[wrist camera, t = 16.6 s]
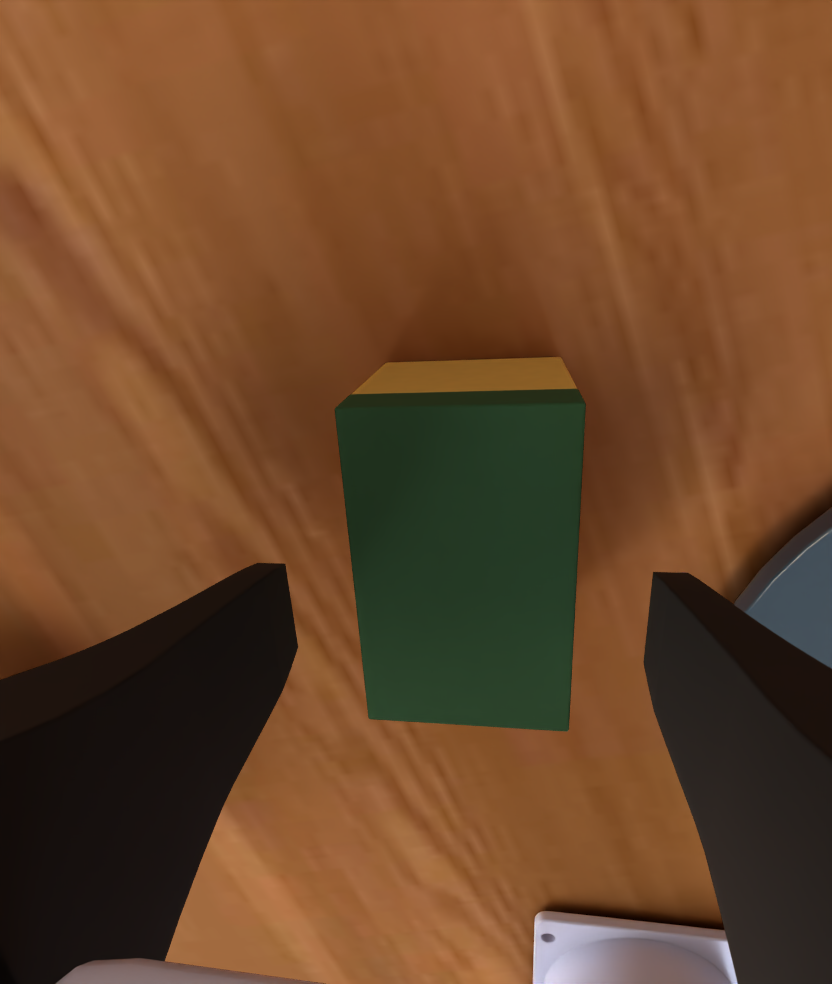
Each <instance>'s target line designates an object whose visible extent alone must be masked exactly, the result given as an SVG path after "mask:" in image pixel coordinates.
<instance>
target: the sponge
mask: <svg viewBox="0 0 832 984" xmlns="http://www.w3.org/2000/svg"><path fill="white" fill-rule="evenodd" d="M585 411H586V404H585V402H584V400H583V398H582V396H581V394H580V392H579V390H578V389H577V387H576V385H575V383H574V381H573V379H572V377H571V375H570V373H569V372H568V370H567V368H566V366H565V364H564V362H563V360H562V358H561V357H540V358H510V359H480V360H450V361H420V362H389V363H385V364H384V365H383V366H382V367H381V368H380V369H378V370H377V371H376V372H375V373H374V374H373V375H372V376H371V377H370V378H368V379H367V380H366V381H365V382H364V383H363V384H362V385H361V386H360V387H359V388H357V389H356V390H355V391H354V392H353V393H352V394H351V395H349V396H348V397H347V398H346V399H345V400H344V401H342V402H341V403H340V404H339V405H338V406H337V407H336V408H335V417H336V426H337V435H338V444H339V453H340V462H341V471H342V481H343V490H344V499H345V508H346V517H347V526H348V535H349V544H350V553H351V562H352V571H353V581H354V590H355V599H356V608H357V617H358V626H359V635H360V644H361V653H362V662H363V671H364V681H365V690H366V699H367V708H368V717H369V719H376V720H392V721H408V722H424V723H440V724H456V725H472V726H488V727H504V728H520V729H536V730H552V731H568V730H569V717H570V698H571V679H572V660H573V641H574V621H575V602H576V583H577V564H578V545H579V526H580V507H581V488H582V469H583V450H584V430H585Z"/></svg>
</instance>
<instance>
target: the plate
mask: <svg viewBox="0 0 832 984" xmlns="http://www.w3.org/2000/svg"><path fill="white" fill-rule="evenodd" d="M734 605H735V606H736V607H738V608H739V609H741V610H742V611H744V612H745V613H746V614H748V615H749V616H751V617H752V618H753V619H755V620H756V621H758V622H759V623H761V624H762V625H764V626H765V627H767V628H768V629H769V630H771V631H772V632H774V633H775V634H777V635H778V636H780V637H782V638H783V639H785V640H786V641H788V642H789V643H791V644H792V645H794V646H796V647H797V648H799V649H800V650H802V651H804V652H805V653H807V654H808V655H810V656H812V657H813V658H815V659H817V660H818V661H820V662H821V663H823V664H825V665H826V666H828V667H830V668H832V507H831V508H829V509H828V510H827V511H826V512H824V513H823V514H822V515H820V516H819V517H818V518H817V519H815V520H814V521H813V522H812V523H810V524H809V525H808V526H806V527H805V528H804V529H803V530H801V531H800V532H799V533H797V534H796V535H795V536H794V537H792V538H791V539H790V540H789V541H788V542H787V543H786V544H785V545H784V546H783V547H782V548H781V549H780V550H779V551H778V552H777V553H776V554H775V555H774V556H773V557H772V558H771V559H770V560H769V561H768V562H767V563H766V564H765V565H764V566H763V567H762V568H761V569H760V570H759V572H758V573H757V574H756V575H755V577H754V578H753V579H752V580H751V582H750V583H749V584H748V585H747V587H746V588H745V589H744V590H743V592H742V593H741V594H740V595H739V597H738V598H737V599H736V601H735V603H734Z"/></svg>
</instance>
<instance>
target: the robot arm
mask: <svg viewBox="0 0 832 984" xmlns="http://www.w3.org/2000/svg"><path fill="white" fill-rule="evenodd" d="M297 649H298V643H297V637H296V631H295V624H294V618H293V611H292V605H291V598H290V592H289V585H288V579H287V572H286V566H285V564H274V563H256V564H254V565H251V566H249V567H247V568H245V569H243V570H241V571H239V572H237V573H235V574H233V575H231V576H229V577H227V578H225V579H224V580H222V581H220V582H218V583H216V584H215V585H213V586H211V587H209V588H207V589H206V590H204V591H202V592H200V593H198V594H197V595H195V596H193V597H191V598H189V599H188V600H186V601H184V602H182V603H180V604H178V605H177V606H175V607H173V608H171V609H169V610H167V611H165V612H163V613H161V614H159V615H157V616H155V617H153V618H151V619H149V620H147V621H145V622H143V623H142V624H140V625H138V626H136V627H134V628H132V629H130V630H128V631H126V632H123V633H121V634H119V635H117V636H115V637H113V638H110V639H108V640H106V641H104V642H101V643H99V644H97V645H94V646H92V647H89V648H87V649H85V650H82V651H80V652H77V653H75V654H72V655H70V656H67V657H65V658H62V659H59V660H57V661H54V662H51V663H48V664H45V665H42V666H39V667H36V668H34V669H31V670H28V671H25V672H22V673H19V674H16V675H14V676H11V677H8V678H5V679H2V680H0V984H324V983H317V982H310V981H303V980H295V979H288V978H281V977H274V976H267V975H259V974H252V973H245V972H238V971H230V970H223V969H216V968H209V967H201V966H194V965H187V964H180V963H172V962H165V958H166V956H167V953H168V950H169V947H170V944H171V941H172V938H173V935H174V932H175V929H176V927H177V924H178V921H179V918H180V915H181V912H182V910H183V907H184V904H185V902H186V899H187V896H188V894H189V891H190V888H191V886H192V883H193V880H194V878H195V875H196V872H197V870H198V867H199V864H200V862H201V859H202V857H203V854H204V852H205V849H206V847H207V844H208V842H209V839H210V837H211V834H212V832H213V829H214V827H215V824H216V822H217V820H218V817H219V815H220V812H221V810H222V807H223V805H224V803H225V801H226V799H227V797H228V795H229V793H230V791H231V788H232V786H233V784H234V782H235V781H236V779H237V777H238V775H239V773H240V771H241V769H242V767H243V765H244V764H245V762H246V760H247V758H248V756H249V754H250V752H251V750H252V748H253V747H254V745H255V743H256V741H257V739H258V737H259V735H260V733H261V731H262V730H263V728H264V726H265V724H266V722H267V720H268V718H269V716H270V714H271V712H272V710H273V708H274V706H275V705H276V703H277V701H278V699H279V697H280V695H281V693H282V691H283V688H284V686H285V683H286V680H287V678H288V675H289V672H290V670H291V667H292V664H293V661H294V658H295V655H296V652H297ZM644 667H645V672H646V677H647V682H648V687H649V691H650V695H651V700H652V704H653V708H654V712H655V715H656V718H657V721H658V723H659V726H660V729H661V732H662V734H663V737H664V740H665V743H666V746H667V748H668V751H669V754H670V756H671V759H672V762H673V765H674V767H675V770H676V773H677V775H678V778H679V781H680V783H681V786H682V789H683V792H684V794H685V797H686V800H687V802H688V805H689V808H690V810H691V813H692V816H693V819H694V821H695V824H696V827H697V830H698V833H699V836H700V839H701V842H702V845H703V849H704V852H705V855H706V859H707V863H708V867H709V871H710V874H711V878H712V882H713V886H714V890H715V894H716V897H717V901H718V905H719V909H720V913H721V917H722V921H723V925H724V929H725V930H719V929H709V928H700V927H691V926H682V925H673V924H664V923H655V922H646V921H636V920H627V919H618V918H609V917H600V916H591V915H582V914H572V913H563V912H554V911H542V912H539V913H538V914H537V915H536V916H535V926H534V959H533V984H832V668H830V667H828V666H826V665H825V664H823V663H821V662H820V661H818V660H817V659H815V658H813V657H812V656H810V655H808V654H807V653H805V652H804V651H802V650H800V649H799V648H797V647H796V646H794V645H792V644H791V643H789V642H788V641H786V640H785V639H783V638H782V637H780V636H778V635H777V634H775V633H774V632H772V631H771V630H769V629H768V628H767V627H765V626H764V625H762V624H761V623H759V622H758V621H756V620H755V619H753V618H752V617H751V616H749V615H748V614H746V613H745V612H744V611H742V610H741V609H739V608H738V607H736V606H735V605H734V604H732V603H731V602H730V601H728V600H727V599H725V598H724V597H723V596H721V595H720V594H718V593H717V592H716V591H714V590H713V589H711V588H710V587H709V586H707V585H706V584H704V583H703V582H702V581H700V580H699V579H697V578H696V577H694V576H692V575H691V574H689V573H668V572H653V579H652V588H651V598H650V607H649V617H648V626H647V635H646V645H645V654H644Z"/></svg>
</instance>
